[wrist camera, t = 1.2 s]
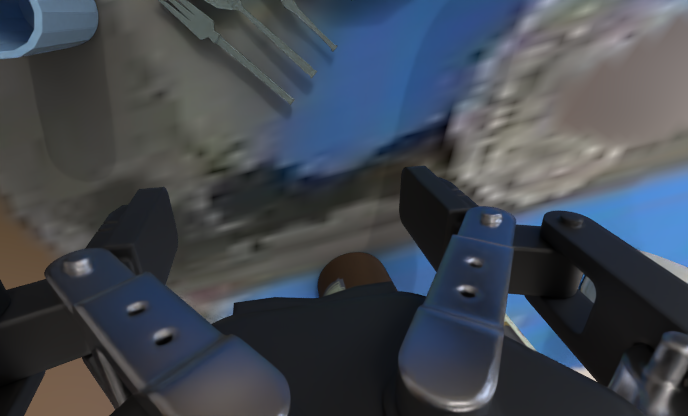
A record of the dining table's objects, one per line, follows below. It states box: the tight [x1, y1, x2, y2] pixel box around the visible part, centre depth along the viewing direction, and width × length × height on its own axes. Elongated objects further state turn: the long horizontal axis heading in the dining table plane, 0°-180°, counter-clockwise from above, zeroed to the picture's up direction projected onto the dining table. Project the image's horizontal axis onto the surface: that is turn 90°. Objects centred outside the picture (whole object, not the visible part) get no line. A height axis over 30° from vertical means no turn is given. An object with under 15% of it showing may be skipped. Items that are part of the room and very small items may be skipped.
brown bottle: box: [318, 252, 397, 298], centre depth 40 cm, size 11×11×25 cm
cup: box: [0, 0, 98, 59], centre depth 27 cm, size 6×6×10 cm
